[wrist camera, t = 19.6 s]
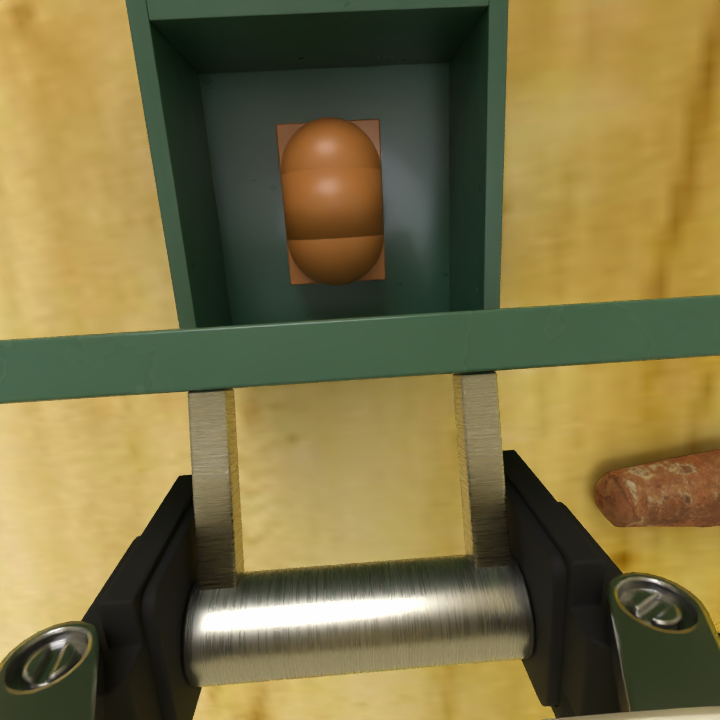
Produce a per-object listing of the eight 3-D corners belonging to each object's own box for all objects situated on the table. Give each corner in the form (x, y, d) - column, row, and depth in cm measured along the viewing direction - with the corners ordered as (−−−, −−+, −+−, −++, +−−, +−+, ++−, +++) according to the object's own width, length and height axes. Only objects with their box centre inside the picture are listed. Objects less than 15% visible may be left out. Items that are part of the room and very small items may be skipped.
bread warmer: (185, 62, 26) (124, -3, 18) (460, 50, 26) (509, -19, 19) (224, 340, 30) (187, 378, 23) (458, 324, 31) (498, 358, 23)
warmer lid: (-277, 357, 6) (-269, 873, 6) (906, 282, 6) (959, 756, 6) (184, 373, 22) (191, 503, 22) (500, 352, 23) (510, 480, 23)
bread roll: (281, 130, 26) (268, 109, 21) (374, 125, 26) (383, 103, 21) (295, 282, 29) (287, 295, 24) (381, 277, 29) (390, 288, 24)
